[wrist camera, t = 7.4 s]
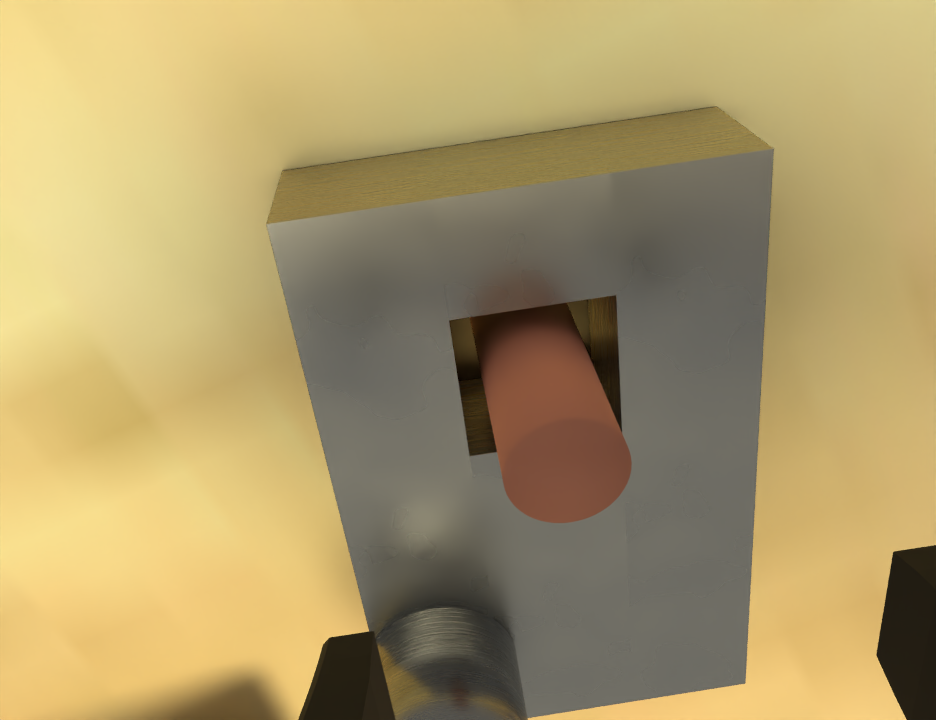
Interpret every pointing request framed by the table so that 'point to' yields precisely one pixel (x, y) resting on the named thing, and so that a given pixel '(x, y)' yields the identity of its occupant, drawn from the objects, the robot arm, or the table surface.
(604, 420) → the cylindrical pin
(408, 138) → the table surface
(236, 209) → the table surface
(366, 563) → the silver box with hole
